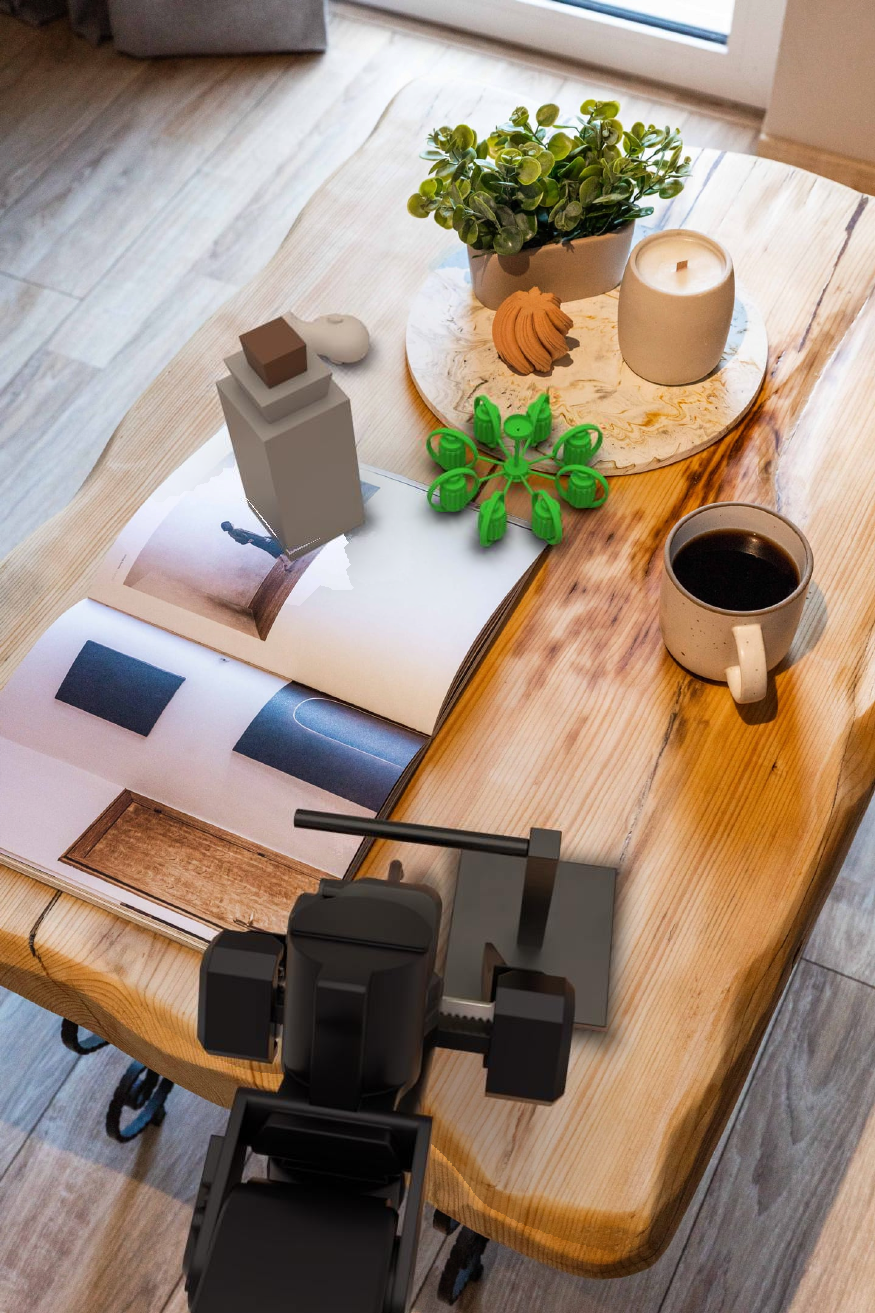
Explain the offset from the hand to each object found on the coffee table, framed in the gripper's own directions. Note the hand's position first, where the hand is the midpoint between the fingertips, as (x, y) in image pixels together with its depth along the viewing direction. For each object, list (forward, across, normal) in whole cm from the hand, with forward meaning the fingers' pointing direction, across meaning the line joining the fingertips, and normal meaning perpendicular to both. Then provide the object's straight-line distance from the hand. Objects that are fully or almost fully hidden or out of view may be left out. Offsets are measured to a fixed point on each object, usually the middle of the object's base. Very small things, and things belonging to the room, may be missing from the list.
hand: (408, 938), depth 64 cm
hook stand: (+6, -3, +2) cm, 7 cm away
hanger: (+4, 0, +4) cm, 6 cm away
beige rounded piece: (+41, +16, -33) cm, 55 cm away
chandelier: (+32, -2, -24) cm, 40 cm away
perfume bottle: (+28, +14, -20) cm, 37 cm away
